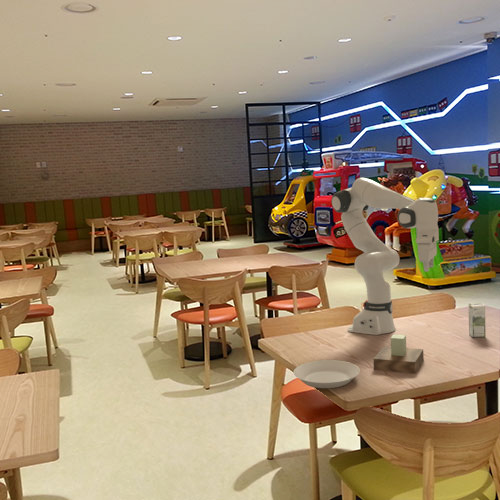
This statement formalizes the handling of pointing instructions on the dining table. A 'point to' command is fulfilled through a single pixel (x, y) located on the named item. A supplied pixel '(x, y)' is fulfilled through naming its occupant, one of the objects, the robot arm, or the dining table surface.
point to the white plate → (326, 373)
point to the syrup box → (477, 320)
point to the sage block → (398, 345)
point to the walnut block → (398, 360)
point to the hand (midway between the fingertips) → (428, 269)
